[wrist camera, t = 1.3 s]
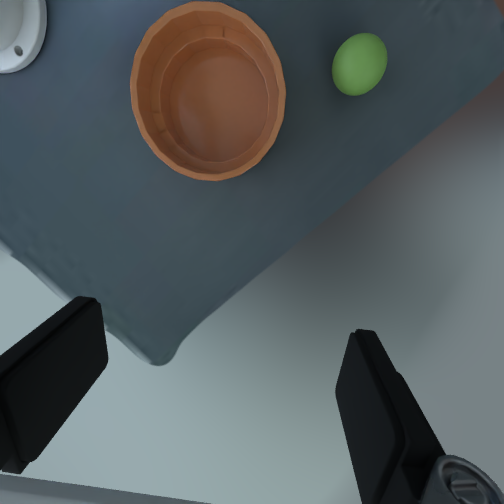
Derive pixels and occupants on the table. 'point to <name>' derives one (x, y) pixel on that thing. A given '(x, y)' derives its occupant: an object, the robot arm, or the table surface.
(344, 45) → the pea ball
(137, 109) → the bowl
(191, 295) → the table surface
